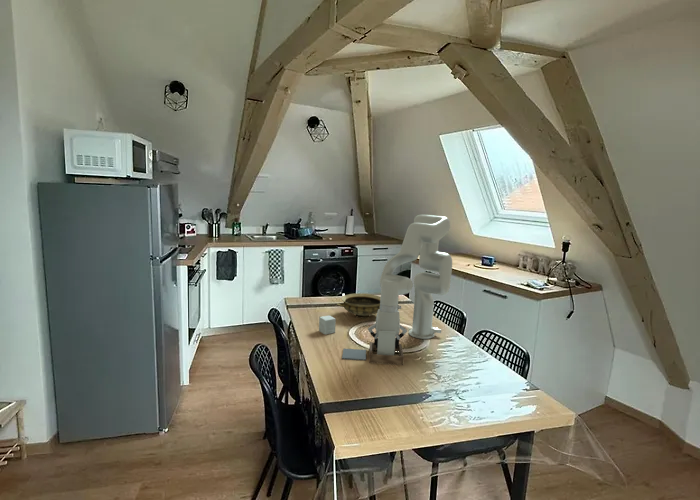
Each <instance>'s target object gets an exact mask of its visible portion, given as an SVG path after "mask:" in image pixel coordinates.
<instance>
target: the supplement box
mask: <svg viewBox="0 0 700 500" xmlns="http://www.w3.org/2000/svg"><path fill="white" fill-rule="evenodd" d="M395 339H396V331H379V332H378V347H377V351H376V354H378V355H394V356H395V353H396V352H395Z"/></svg>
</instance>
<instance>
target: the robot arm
mask: <svg viewBox="0 0 700 500" xmlns="http://www.w3.org/2000/svg"><path fill="white" fill-rule="evenodd" d="M413 218H414V219H413V222H412V223H410V224H409V225H408V227H407V230H406V232H405V236H404V238H403V241H402V244H401V247H400V250H399V252H397V253H396V254H394V256H392V257H391V258H390V259H389V260H388V261H387V262H386V264H385V265H384V266H383V270H382V273H381V275H380V279H379V286H380V309H378V311H377V313H376V316H375V317H376V318H375V323H373V324H372V325H370V326H369V327H368V328H367V331H368V332H369V333H370V335H371V336H372V338H373V340H374V341H373V342H374V345H376V348H377V347H378V332H379V331H396V339H395V348H396V349H397V347H398V346H399V344H400V340H401V339H402V338H403V337H404V336H405V335H406V334H407V332H408V334H409V336H411V337H413V338H415V339H423V340H428V339H433V338H434V337H435V333H437V334H442V329H441V328H438V327H434V326H433V317H434V305H435V301H434V297H433V295H438V296H446V295H447V294H448V293H449V292H450V286H451V281H452V280H451V279H452V271H453V257H452V256H451V255H450V254H449V253H447V252H442V251H439V244H440V241H441V239H443V238H444V237H445V236H446V235H447V234H448V233H449V231H450V228H451V221H450V219H449V218H448V217H447V216H442V215H433V214H418V215H416V216H414V217H413ZM418 259H419V260H418ZM416 260H418V266H419V267H420V268H421V269H423V270H427V271H431V272H437V273H439V274H436V273H431V272H425V271H421V272H418V273H416V274H415V275H414V278H413V280H412V279H410V278H409V277H407V276H402V275H398V274H394V271H395V270H396V269H397V268H398V267H400V266H402V265H403V264H406V263H410V262H413V261H416ZM413 288H414V301H413V302H414V303H413V314H412V315H413V316H412V317H413V318H412V328H411V329H409V330H407V329H406V328H405V327H404V326H402V324H401V320H400V319H401V318H400V310H401V309H402V305H399V296H401V295H407V294H409V293H410V292H411V291H412V290H413ZM432 294H433V295H432ZM374 329H375V332H374V331H373V330H374ZM400 330H401V332H400Z"/></svg>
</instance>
